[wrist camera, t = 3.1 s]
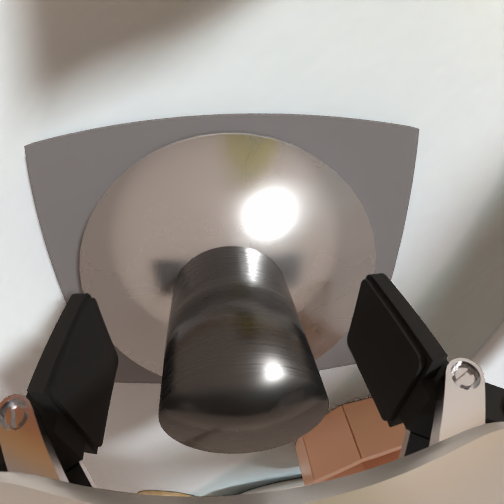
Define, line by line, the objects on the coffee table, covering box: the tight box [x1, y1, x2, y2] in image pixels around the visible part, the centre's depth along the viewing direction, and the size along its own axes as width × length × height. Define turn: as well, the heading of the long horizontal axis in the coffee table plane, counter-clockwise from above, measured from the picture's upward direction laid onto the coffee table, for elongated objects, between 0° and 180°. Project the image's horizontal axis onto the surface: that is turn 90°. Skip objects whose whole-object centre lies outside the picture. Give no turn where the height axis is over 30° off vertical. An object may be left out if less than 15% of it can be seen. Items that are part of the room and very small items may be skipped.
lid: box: [79, 131, 376, 453], centre depth 9 cm, size 11×11×6 cm
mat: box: [24, 114, 419, 383], centre depth 11 cm, size 14×12×1 cm
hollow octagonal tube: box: [295, 398, 406, 486], centre depth 19 cm, size 9×9×4 cm
